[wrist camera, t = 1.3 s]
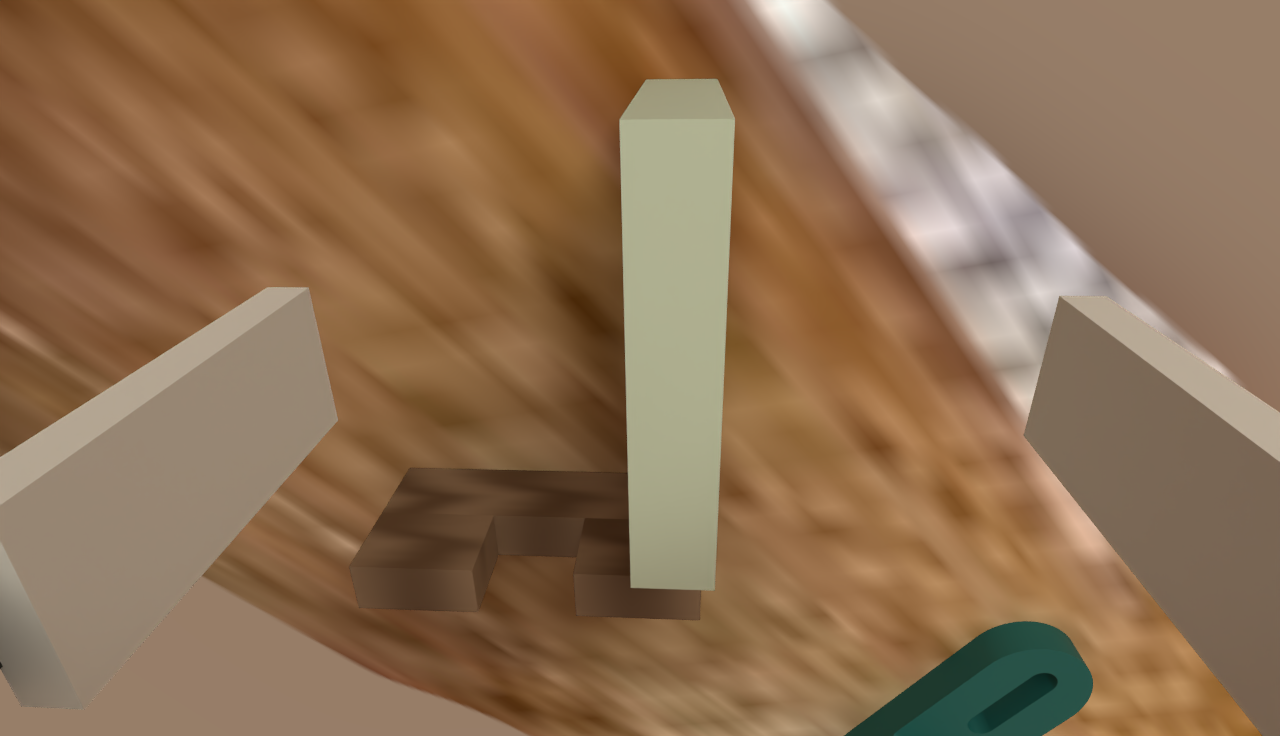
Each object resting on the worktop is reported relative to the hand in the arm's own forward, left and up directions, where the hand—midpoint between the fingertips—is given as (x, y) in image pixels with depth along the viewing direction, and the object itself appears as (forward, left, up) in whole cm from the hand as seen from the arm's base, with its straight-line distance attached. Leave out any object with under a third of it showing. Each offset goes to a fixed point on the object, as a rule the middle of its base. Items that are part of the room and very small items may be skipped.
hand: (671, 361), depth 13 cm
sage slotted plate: (+5, -1, -21) cm, 22 cm away
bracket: (+38, +8, -21) cm, 44 cm away
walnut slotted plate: (+16, -11, -21) cm, 29 cm away
